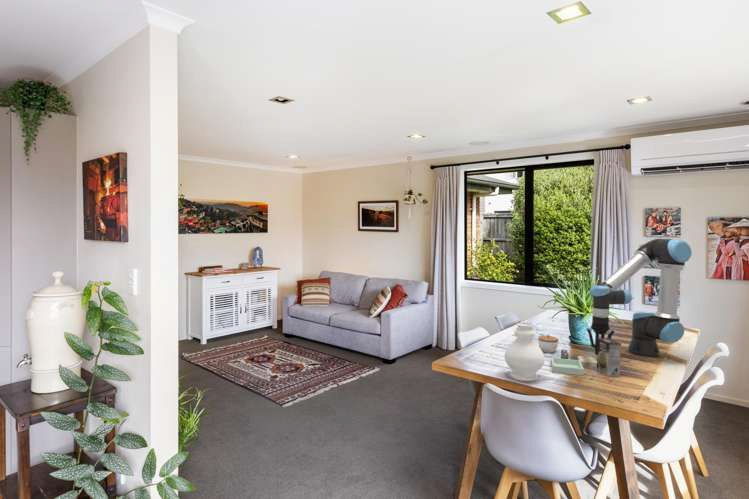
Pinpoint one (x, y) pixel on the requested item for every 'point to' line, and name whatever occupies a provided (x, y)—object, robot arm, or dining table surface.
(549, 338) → the lidded jar
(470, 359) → the dining table surface
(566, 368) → the tray
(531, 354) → the decorative vase
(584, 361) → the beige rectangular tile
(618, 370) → the coffee box
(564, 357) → the bench dogs
